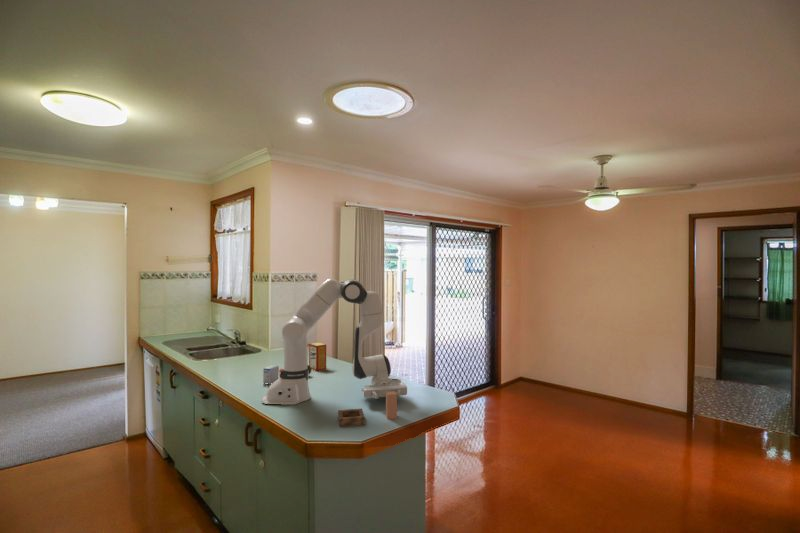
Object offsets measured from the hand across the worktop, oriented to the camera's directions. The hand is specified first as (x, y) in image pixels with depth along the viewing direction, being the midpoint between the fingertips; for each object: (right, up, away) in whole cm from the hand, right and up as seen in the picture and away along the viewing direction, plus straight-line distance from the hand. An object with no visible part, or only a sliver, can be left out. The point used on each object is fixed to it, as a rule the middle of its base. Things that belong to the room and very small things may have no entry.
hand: (387, 396), depth 171 cm
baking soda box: (-46, -7, +71) cm, 85 cm away
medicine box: (-66, -7, +42) cm, 78 cm away
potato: (-53, -7, +55) cm, 77 cm away
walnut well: (-15, -6, -13) cm, 21 cm away
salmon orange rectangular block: (+2, -6, -9) cm, 11 cm away
